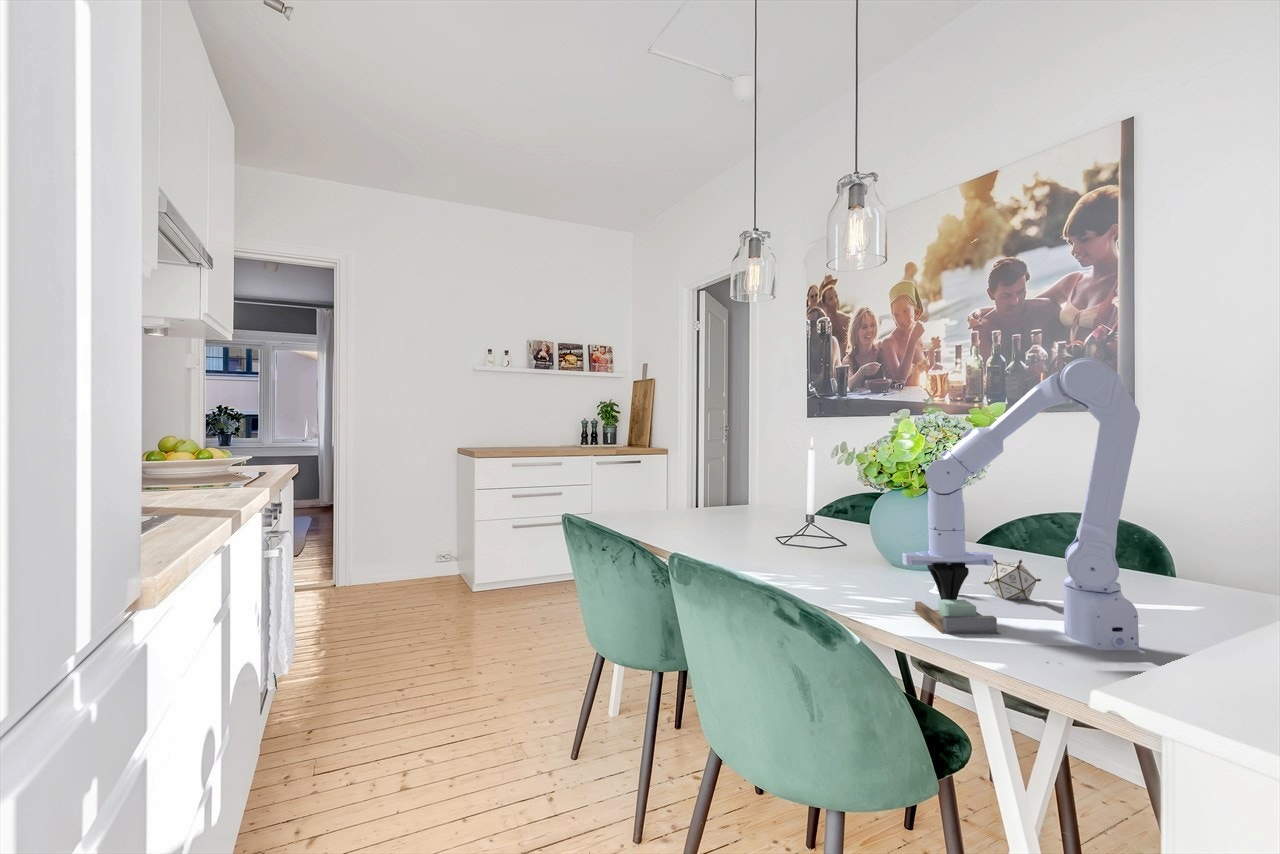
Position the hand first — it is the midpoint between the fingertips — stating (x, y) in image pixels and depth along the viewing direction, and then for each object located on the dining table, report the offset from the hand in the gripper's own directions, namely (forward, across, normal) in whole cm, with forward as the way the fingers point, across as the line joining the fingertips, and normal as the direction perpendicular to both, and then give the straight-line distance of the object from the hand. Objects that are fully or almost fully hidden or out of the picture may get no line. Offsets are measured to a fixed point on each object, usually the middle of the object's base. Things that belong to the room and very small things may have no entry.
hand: (948, 606), depth 105 cm
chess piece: (+3, -5, -17) cm, 18 cm away
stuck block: (+2, 0, +3) cm, 4 cm away
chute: (+3, 0, +2) cm, 3 cm away
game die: (+3, -17, -13) cm, 22 cm away
